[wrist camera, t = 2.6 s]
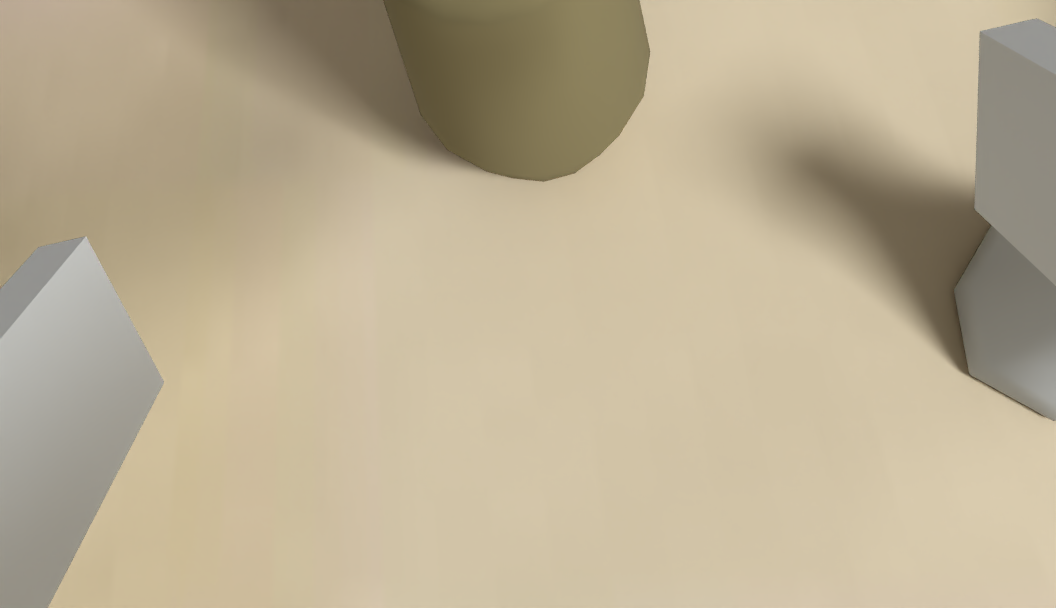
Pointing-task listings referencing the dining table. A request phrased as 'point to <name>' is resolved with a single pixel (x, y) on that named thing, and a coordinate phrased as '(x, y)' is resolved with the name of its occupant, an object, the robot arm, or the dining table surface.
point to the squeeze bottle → (524, 78)
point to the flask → (1009, 324)
